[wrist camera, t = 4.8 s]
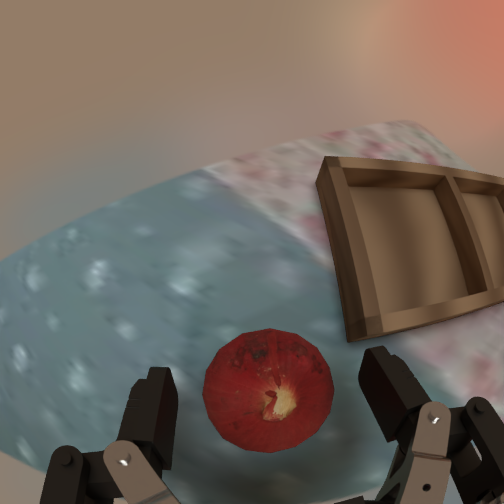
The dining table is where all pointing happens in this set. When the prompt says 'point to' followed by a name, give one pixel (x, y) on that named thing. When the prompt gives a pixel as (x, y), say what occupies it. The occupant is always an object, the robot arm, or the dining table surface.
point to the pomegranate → (268, 390)
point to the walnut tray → (411, 242)
